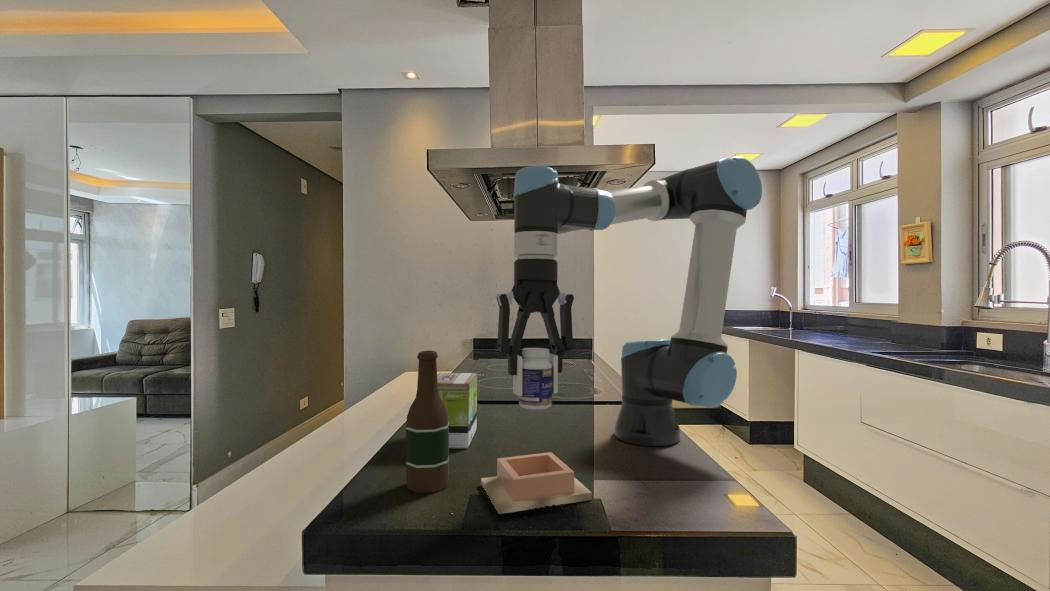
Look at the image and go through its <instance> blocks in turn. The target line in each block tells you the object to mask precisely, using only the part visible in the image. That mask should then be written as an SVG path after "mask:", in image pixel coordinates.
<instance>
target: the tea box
mask: <svg viewBox="0 0 1050 591" xmlns="http://www.w3.org/2000/svg"><path fill="white" fill-rule="evenodd" d="M437 379H438V389H439V395H440V397H441V398H442V400H443V401H444V403H445V405H446V407H447V410H448V418H449V449H468V448H469V447H470V444H471V442H472V440H473V437H474V436H475V434H476V431H477V428H478V427H477V422H478V421H477V415H478V409H477V408H478V373H477V372H439V373H437Z"/></svg>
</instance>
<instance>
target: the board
mask: <svg viewBox="0 0 1050 591" xmlns="http://www.w3.org/2000/svg"><path fill="white" fill-rule="evenodd" d="M481 485H482V486H481ZM480 486H481V487H482V489H483V488H484V489H483V490H485V491H486V492H485V491H484V492H485V494H486V493H487V494H486V496H487V495H488V496H489V497H488V496H487V497H488V499H489V498H490V499H489V500H491V501H490V502H491V504H492V506H493V505H494V506H493V507H494V509H495V511H496V512H497V514H498V515H503V514H509V513H516V512H522V511H530V510H534V509H535V508H536V509H541V507H542V508H546V507H545V506H549V507H553V506H552V505H555V506H561V504H562V505H567V504H568V505H569V504H573V503H579V502H586V501H592V500H593V492H592V491H591V490H589V489H588V488H587V487H586V485H584V484H583V483H582V482H580V481H579V480H578V479H577V478H576V477H575V476H574V493H571V494H564V495H557V496H551V497H544V498H537V499H530V500H524V501H517V502H514V501H513V499H512V498H511V496H510V495H509V494H508V492H507V491H506V489H505V488H504V487H503V485H502V484H501V482H500V481H499V480H498V478H497V475H496V476H495V475H494V476H490V477H489V476H488V477H481V478H480ZM529 509H530V510H529Z"/></svg>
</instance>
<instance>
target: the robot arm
mask: <svg viewBox="0 0 1050 591" xmlns="http://www.w3.org/2000/svg"><path fill="white" fill-rule="evenodd" d="M559 180H560V179H559V176H558V171H557V169H555V168H552V167H551V166H545V165H532V166H531V165H529V166H524V167H523V168H520V169H519V170H518V171H517V172H516V173H515V177H514V184H513V185H514V186H513V187H514V188H513V195H512V196H513V201H514V202H513V208H514V209H513V210H514V211H513V212H514V213H513V215H514V216H513V220H514V224H513V225H514V227H513V228H514V236H513V238H514V239H513V256H515V257H516V258H517V259H515V261H514V262H513V286H512V288H511V291H508V292H506V293H498V294H496V301H497V304H498V308H499V309H498V324H497V325H498V326H497V327H498V328H497V329H498V330H497V343H496V344H497V345H496V346H497V347H496V348H497V349H496V350H497V351H498V352H500V353H502V354H506V356H507V372H508V374H509V375H510V376H513V378H512V382H513V383H512V386H513V388H512V392H513V394H514V395H516V396H517V397H519V396H522V361H523V356H522V355H519V352H520V348H521V344H522V341H523V338H524V334H525V330H526V328H527V325H528V320H529V319H530V316H531V314H534V313H540V316H541V318H542V320H543V323H544V327H545V331H546V334H547V338H548V341H549V345H550V348H551V351H552V353H549V357H548V361H549V362H550V363H551V364H552V394H558V392H559V390H558V389H559V386H558V385H559V379H558V378H559V377H558V376H559V374H560V373H562V372H563V356H564V355H565V354H566V353H567V352H569V351H572V350H573V348H574V338H573V337H574V336H573V317H572V305H573V304H574V303H573V302H574V300H575V296H574V294H572V293H568V294H567V293H564V292H562V291H560V288H559V286H558V278H559V277H558V261H557V260H556V259H555V258H556V257H557V256H558V237H559V236H558V235H561V234H566V233H570V232H571V233H572V232H576V231H577V232H578V231H581V230H587V231H588V230H589V231H591V232H593V231H603V230H605V229H608V227H610V226H611V225H616V224H622V223H627V222H633V221H634V222H635V221H639V220H645V219H647V220H649V221H651V222H656V221H657V222H658V221H663V220H688V219H689V220H690V222H692V224H693V225H694V232H693V239H692V246H691V252H690V259H689V265H688V272H687V278H686V285H685V292H684V298H683V304H682V311H681V316H680V323H679V324H680V325H679V329H678V331H677V332H675V333H674V334H672V335H671V336H670V339H669V338H668V339H667V338H666V339H654V340H653V339H652V340H641V341H640V340H638V341H628V342H625V343H624V344H623V346H622V348H621V349H622V352H621V357H620V362H621V405H620V409H619V412H618V414H617V418H616V421H615V424H614V436H615V438H616V439H618V441H619V440H620V441H621V442H625V443H626V444H632V445H637V446H645V447H667V446H670V445H675V444H677V443H679V442H680V440H681V428H680V425H679V423H678V418H677V417H676V416H677V415H676V413H675V409H674V407H673V406H674V405H673V401H675V402H681V403H684V404H688V406H693V407H702V408H709V409H710V408H714V407H717V406H720V405H721V404H723V403H724V401H725V400H727V399H728V398H729V396H730V395H731V394H732V392H733V390H734V387H735V385H736V382H737V374H738V373H737V367H736V366H735V365H736V362H735V360H734V358H733V357H732V356H731V355H730V354H728V344H727V343H726V341H725V340H724V339H723V338H722V334H723V333H722V332H723V326H724V319H725V315H726V314H725V313H726V306H727V300H728V299H727V298H728V294H729V293H728V292H729V285H730V278H731V273H732V272H731V271H732V264H733V257H734V256H733V255H734V250H735V243H736V237H737V236H736V235H737V230H738V229H739V228H741V227H742V226H743V225H745V224H746V220H747V213H748V210H749V211H751V210H752V209H754V208H756V207H758V205H759V204H760V203H761V199H762V196H763V186H762V180H761V177H760V173H758V170H757V169H756V167H755V165H754V164H753V163H752V161H750V160H748V159H747V158H746V157H742V156H737V155H736V156H731V157H727V158H726V157H724V158H720V159H719V160H717V161H713V162H710V163H705V164H702V165H699V166H695V167H691V168H688V169H684V170H682V171H679V172H676V173H673V174H671V175H669V176H664V177H662V178H659V179H653V180H649V181H646V182H645V183H644V184H643V185H642V186H634V187H628V188H627V187H625V188H619V189H612V190H611V189H610V190H603V189H599V188H596V187H592V188H591V187H584V186H578V185H570V184H564V183H560V182H559ZM513 299H514V300H515V302H516V304H517V305H518V309H517V313H516V320H515V322H514V327H513V330H512V333H511V335H510V320H511V318H510V314H511V307H510V306H511V304H512V302H513ZM556 300H557V301H558V304H559V323H560V324H559V326H560V327H559V328H560V333H559V329H558V326H557V322H556V318H555V311H554V307H553V305H554V304H555V302H556ZM509 335H510V336H511V337H510V340H509Z"/></svg>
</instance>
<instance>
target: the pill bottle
mask: <svg viewBox="0 0 1050 591" xmlns="http://www.w3.org/2000/svg"><path fill="white" fill-rule="evenodd" d="M549 354H550V349H549V348H544V347H523V348H522V350H521V357H522V358H523V359H522V396H518V405H519V406H520V408H523V409H527V410H546V409H549V408H550V407H551V406H552V405H553V393H552V364H551V363H550V362H549V361H548V357H549Z"/></svg>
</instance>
